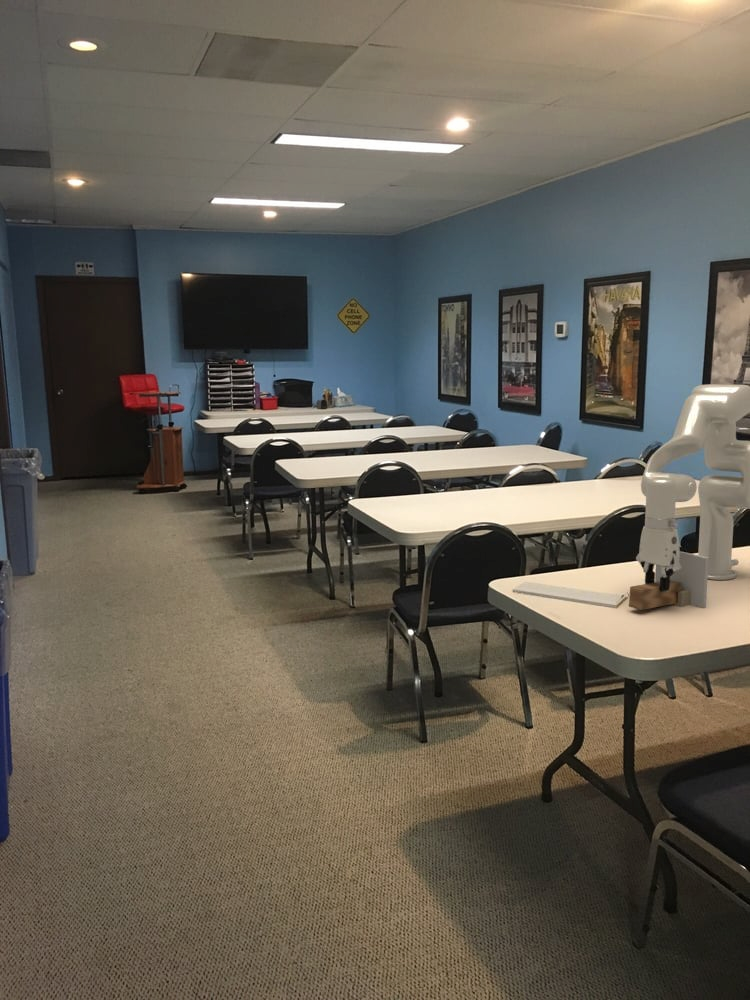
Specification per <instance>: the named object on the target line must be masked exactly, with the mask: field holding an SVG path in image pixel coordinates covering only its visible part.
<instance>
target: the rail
mask: <svg viewBox="0 0 750 1000" xmlns="http://www.w3.org/2000/svg"><path fill="white" fill-rule="evenodd" d="M680 587H681V583H678V582H675V581H671V580H670V587H669V590H667V591H663V592H662V591H660V582H654V583H648V584H645V583H644V584H643V583H642V584H638V585H632V586H630V587H629V596H628V598H629V601H628V607H629V608H633V609H636V610H639V611H644V610H648V609H654V608H657V607H658V608H659V607H663V606H668V605H673V604H674V603H678V592H680Z"/></svg>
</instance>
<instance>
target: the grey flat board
mask: <svg viewBox="0 0 750 1000" xmlns="http://www.w3.org/2000/svg"><path fill="white" fill-rule="evenodd" d="M515 592H518V593H517V594H521V593H523V594H522V595H528V594H529V595H528V596H534V595H535V597H541V598H548V599H553V598H554V600H561V601H567V602H573V603H580V604H588V605H594V606H600V607H605V608H612V609H617V608H618V607H620V606H621V605H622V604H623V603H624V602H626V600H627V599H628V596H630V593H629V592H628V591H627V592H626V593H625V594H622V595H620V594H613V593H608V592H607V593H606V592H599V591H593V590H586V589H585V590H584V589H579V588H573V587H572V588H571V587H565V586H557V585H550V584H543V583H538V582H537V583H536V582H530V581H524V582H522V583H521V584H519V585H517V586H516V587H514V588H512V593H515Z"/></svg>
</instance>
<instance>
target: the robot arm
mask: <svg viewBox="0 0 750 1000" xmlns="http://www.w3.org/2000/svg"><path fill="white" fill-rule="evenodd" d="M749 413H750V385H748V384H747V385H746V384H719V383H718V384H717V383H715V384H713V383H712V384H711V383H710V384H708V383H707V384H700V385H697V386H695V387H694V388H693V389H692V390H691V393H690V395H689V396H688V397H687V398H686V399H685V401H684V403H683V406H682V409H681V413H680V415H679V418H678V421H677V425H676V426H675V429H674V434H673V436H672V438H671V439H669V441H667V442H666V443H664V444H662V445H661V446H660V447H658V449H657V450H656V451H655V452H654V453H653V454H651V456H650V457H649V459H648V461H647V462H646V466H645V469H644V471H643V474H642V476H641V477H642V479H641V481H640V482H641V483H640V490H641V493H642V495H643V496H644V497H645V515H644V517H645V518H644V525H643V528H642V530H641V535H640V542H639V550H638V551H639V553H638V554H637V555H636V557H635V560H636V561H637V562H638V563H639V565H640V566H641V568H642V569H643V573H645V576H644V577H645V578H644V582H645V583H644V584H648V583H654V582H655V572H656V571H654V568H655V566H656V565H659V566H661V571H662V577H660V591H662V592H663V591H667V590H669V587H670V576H672V574H674V573H675V572H676V571H678V570H680V569H681V565H680V563H679V559H680V539H679V531H678V529H676V528H677V527H678V525H679V524H678V522H677V521H676V504H677V503H686V502H688V501H690V500H692V499H693V497H694V496H695V495H696V492H697V491H698V498H699V499H698V500H699V513H700V514H699V534H698V536H699V537H698V553H697V555H699V556H704V557H708V558H709V562H708V580H713V581H725V580H726V581H727V580H728V581H729V580H732V579H735V578H736V576H737V572H736V571H735V570H733V569H732V568H733V567H734V566H737V565H739V563H740V562H739V560H738V559H737V558H736V559H732V556H733V555H732V553H733V540H734V539H733V537H734V523H735V522H734V517H733V515H732V513H731V512H730V510H729V509H728V508H737V509H750V440H738V439H737V433H736V432H737V424H736V422H738V421H740V420H742V418H743V417H745V416H746V415H748V414H749ZM703 448H704V463H705V466H706V467H707V469H709V470H713V471H719V472H730V473H740V474H741V476H739V475H738V476H737V475H730V474H729V475H728V474H718V473H717V474H715V473H714V474H708V475H706V476H704V477H702V478H701V479H700V480H699V482H698V486H697V482H696V480H695V479H694V478H693V477H692V476H690V475H687V474H682V473H681V474H680V473H671V472H670V473H669V472H662V471H663V469H664V468H665V467H666V466H667V465H669V464H670V463H671V462H674V461H676V460H678V459H681V458H684V457H687V456H690V455H692V454H696V453H698V452H699V451H701V450H702V449H703ZM671 564H673V568H672V567H671ZM666 568H667V571H666Z"/></svg>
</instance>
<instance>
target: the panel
mask: <svg viewBox="0 0 750 1000" xmlns="http://www.w3.org/2000/svg"><path fill="white" fill-rule="evenodd" d="M708 562H709V558H708V557H704V556H699V555H698V554H694V553H689V552H684V551H680V559H679V563H680V565H681V569H680V570H678V571H676V572H675V573H674V574H672V576H670V580H671V581H675V582H678V583H681V587H680V592H678V603H674V604H672V605H673V606H676V607H680V608H681V607H682V608H683V607H685V606H689V605H690V606H691V605H692V606H694V607H699V608H702V609H704V608H707V599H708V598H707V597H708V581H709V579H708ZM671 567H672V568H673V564H671ZM666 571H667V568H666ZM654 572H655V582H660V577H662V571H661V566H659V565H655V571H654Z"/></svg>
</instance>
